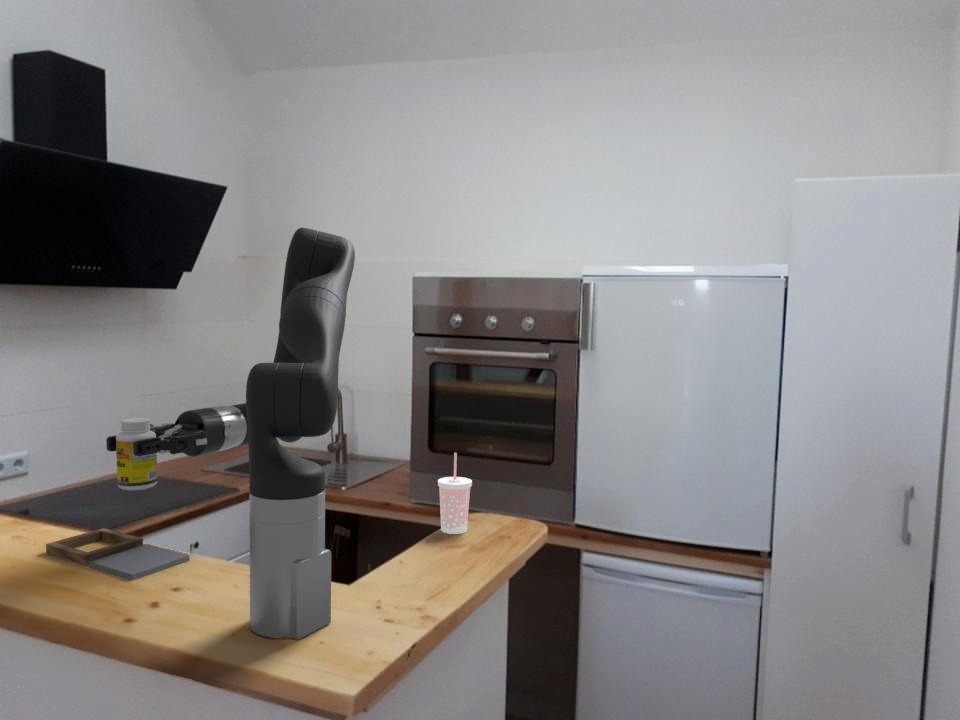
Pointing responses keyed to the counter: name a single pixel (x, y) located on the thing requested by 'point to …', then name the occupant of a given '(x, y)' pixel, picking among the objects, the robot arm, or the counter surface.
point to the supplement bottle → (135, 468)
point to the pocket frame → (67, 546)
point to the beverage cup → (454, 502)
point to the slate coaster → (139, 561)
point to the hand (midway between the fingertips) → (121, 446)
